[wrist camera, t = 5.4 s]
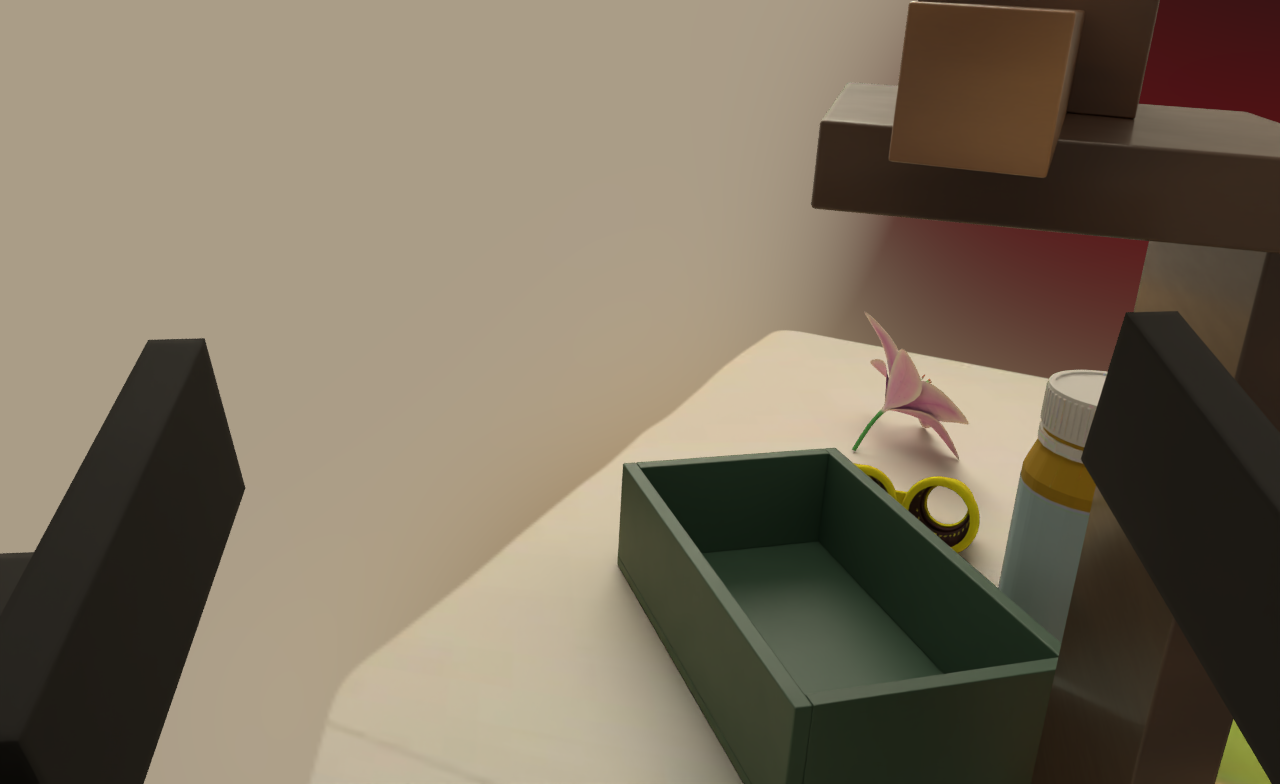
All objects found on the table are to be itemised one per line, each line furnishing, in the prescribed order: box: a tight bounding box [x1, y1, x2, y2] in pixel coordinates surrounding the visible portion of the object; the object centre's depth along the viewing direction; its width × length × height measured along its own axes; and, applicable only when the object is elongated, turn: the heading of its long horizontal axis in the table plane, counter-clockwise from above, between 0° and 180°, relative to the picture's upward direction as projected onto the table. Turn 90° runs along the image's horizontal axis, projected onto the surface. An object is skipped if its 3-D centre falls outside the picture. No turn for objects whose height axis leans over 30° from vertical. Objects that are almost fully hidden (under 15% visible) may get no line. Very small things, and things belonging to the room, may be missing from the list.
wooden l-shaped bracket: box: [811, 82, 1280, 784], centre depth 34 cm, size 12×12×30 cm
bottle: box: [998, 370, 1107, 643], centre depth 58 cm, size 7×7×15 cm
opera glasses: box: [853, 463, 980, 553], centre depth 71 cm, size 10×5×5 cm, turn 75°
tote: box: [618, 448, 1061, 784], centre depth 57 cm, size 14×24×7 cm, turn 17°
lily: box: [852, 312, 969, 460], centre depth 85 cm, size 12×12×10 cm
